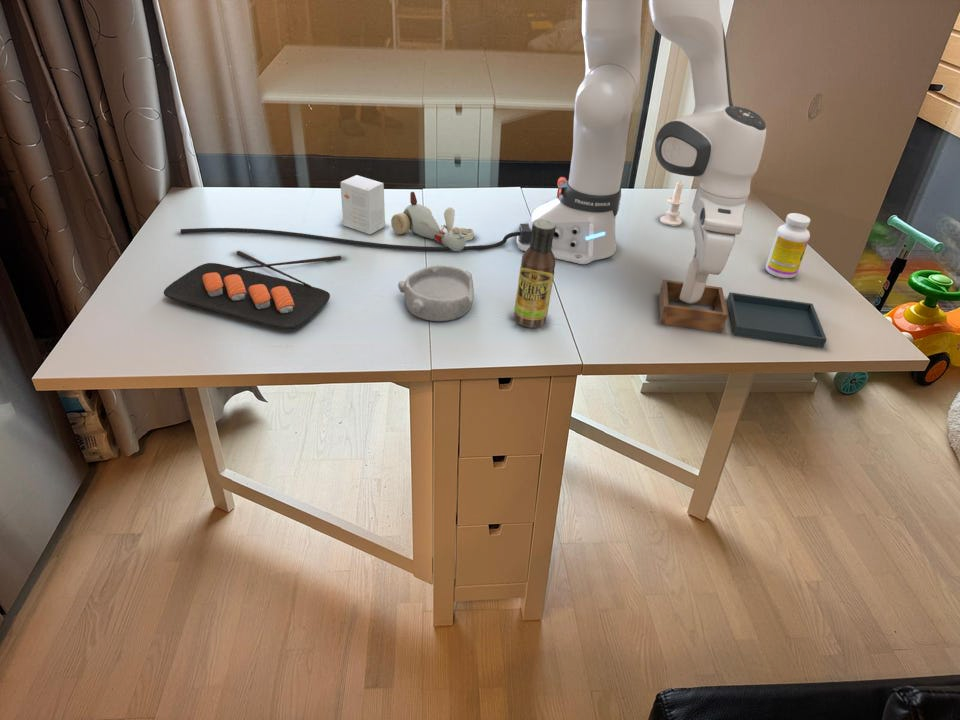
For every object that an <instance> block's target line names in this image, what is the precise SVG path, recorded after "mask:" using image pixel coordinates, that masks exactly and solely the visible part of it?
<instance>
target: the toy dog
mask: <svg viewBox="0 0 960 720" xmlns="http://www.w3.org/2000/svg"><path fill="white" fill-rule="evenodd" d="M409 195H410V196H409V197H410V199H409V200H410V201H409V202H410V204H409V205H407V207H405V208H404V210H403V212H398V213H395V214H393V216H391V220H390V224H391V228H392V230H393V231H394V232H395V233H396V234H398V235H404V234H407V233H408V232H409V231H411V232H413V233H414V234H416V235H419V236H421V237H423V238H428V239H431V240H435V241H436V242H437V243H439V244H442V245H443V246H444V247H449V248H450V249H451V250H453V251H452V252H461V251H460V250H462V249H463V248H464V247H465V246H466V245H467V244H466V243H467V241H472V240H473V239H474V235H475V234H474V229H473V228H469V227H457V226H454V222H455V209H454V208H453V207H447V208H446V209H445V210H444V212H443V216H444V222H445V224H441V228H440V226H439V224H438V222H437V220H436V219H435V217H434V215H433V213H432V211H431V209H430V208H429V207H427V206H424V205H422V204H421V203H418V199H417V196H416V193H415V192H414V191H410V193H409ZM444 229H446V231H447V232H445V231H444Z"/></svg>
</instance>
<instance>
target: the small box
mask: <svg viewBox="0 0 960 720" xmlns="http://www.w3.org/2000/svg"><path fill="white" fill-rule="evenodd" d="M384 188H385V185H384V182H381V181H377V180H374V179H372V178H367V177H364V176H361V175H358V174H356V175H353V176H351V177H349V178H347V179H344V180H342V181H340V198H341V211H342V225H343V226H345V227H347V228H349V229H353V230H356V231H358V232H361V233H364V234H367V235H372V234H373V233H375V232H377V231H380V230H381V229H383V228H385V227H386V214H385V211H386V209H385V189H384Z"/></svg>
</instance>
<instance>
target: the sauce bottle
mask: <svg viewBox="0 0 960 720" xmlns="http://www.w3.org/2000/svg"><path fill="white" fill-rule="evenodd" d="M555 229H556V225H555V223H554V222H552V221H550V220H546V219H538V220H535V221H534V222H533V225H532V238H531V243H530V247H529V248H528V249H527V250H526V251H524V253H523V255H522V256H521V262H520V263H521V264H520V267H519V272H518V274H519V275H518V281H517V289H516V294H515V303H514V314H513V319H514V321H515V322H516V323H517V324H518V325H521V326H522V327H525V328H535V329H536V328H540V327H542V326H543V325H545V323H546V321H547V316H548V312H549V307H550V300H551V295H552V289H553V282H554V279H555V278H554V277H555V268H556V258H555V257H554V254H553V252H552V250H551V249H552V241H553V235H554V233H555Z"/></svg>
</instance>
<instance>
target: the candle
mask: <svg viewBox="0 0 960 720" xmlns="http://www.w3.org/2000/svg"><path fill="white" fill-rule="evenodd" d="M683 185H684V184H683V183H682V182H681V181H677V182H676V183H675V187H674V192H673V196H672V197H669V198H667V202H668V203H669V204H670V205H669V207H668V208H669V209H667V210H666V212H665V215H661V216H660V219H659V220H660V222H661V223H662V224H664V225H666V226H669V227H679V226H680V225H682V223H683V220H682V218H680V217H679V216H680V211H679V209H680V206H681V205H683V204H684V200H683V199H681V197H682V196H681V195H682V190H683Z"/></svg>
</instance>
